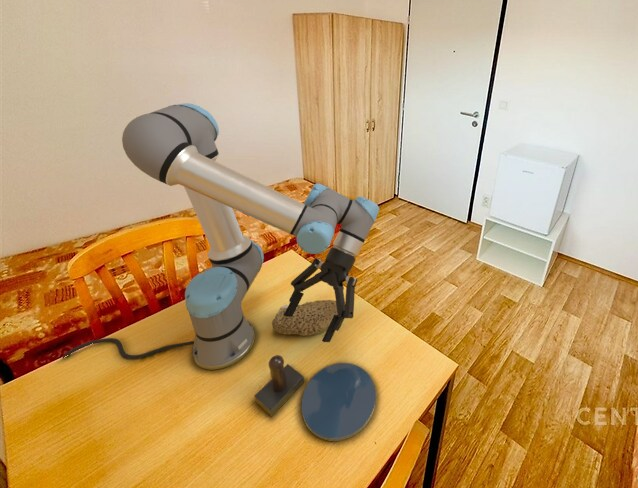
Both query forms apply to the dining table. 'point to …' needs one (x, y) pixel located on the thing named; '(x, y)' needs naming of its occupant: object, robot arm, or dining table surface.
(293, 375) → the stamp
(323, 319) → the sponge
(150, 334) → the dining table surface
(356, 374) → the plate
